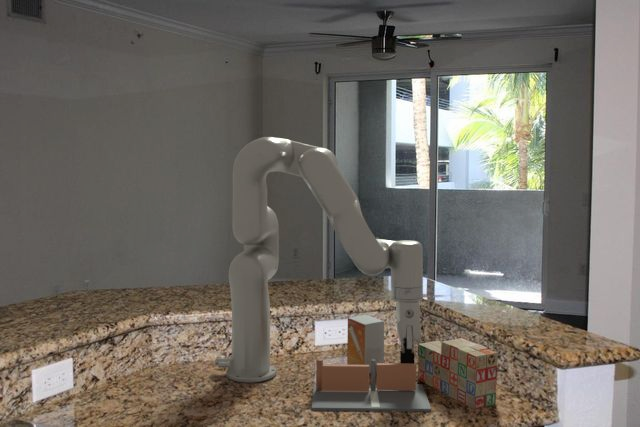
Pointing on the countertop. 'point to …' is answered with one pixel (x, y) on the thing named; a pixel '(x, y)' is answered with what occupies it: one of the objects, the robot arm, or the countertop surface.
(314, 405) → the board
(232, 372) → the robot arm
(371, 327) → the small box
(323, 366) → the fixed fence panel
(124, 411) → the countertop surface
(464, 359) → the stack of blocks
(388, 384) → the hinged fence panel
